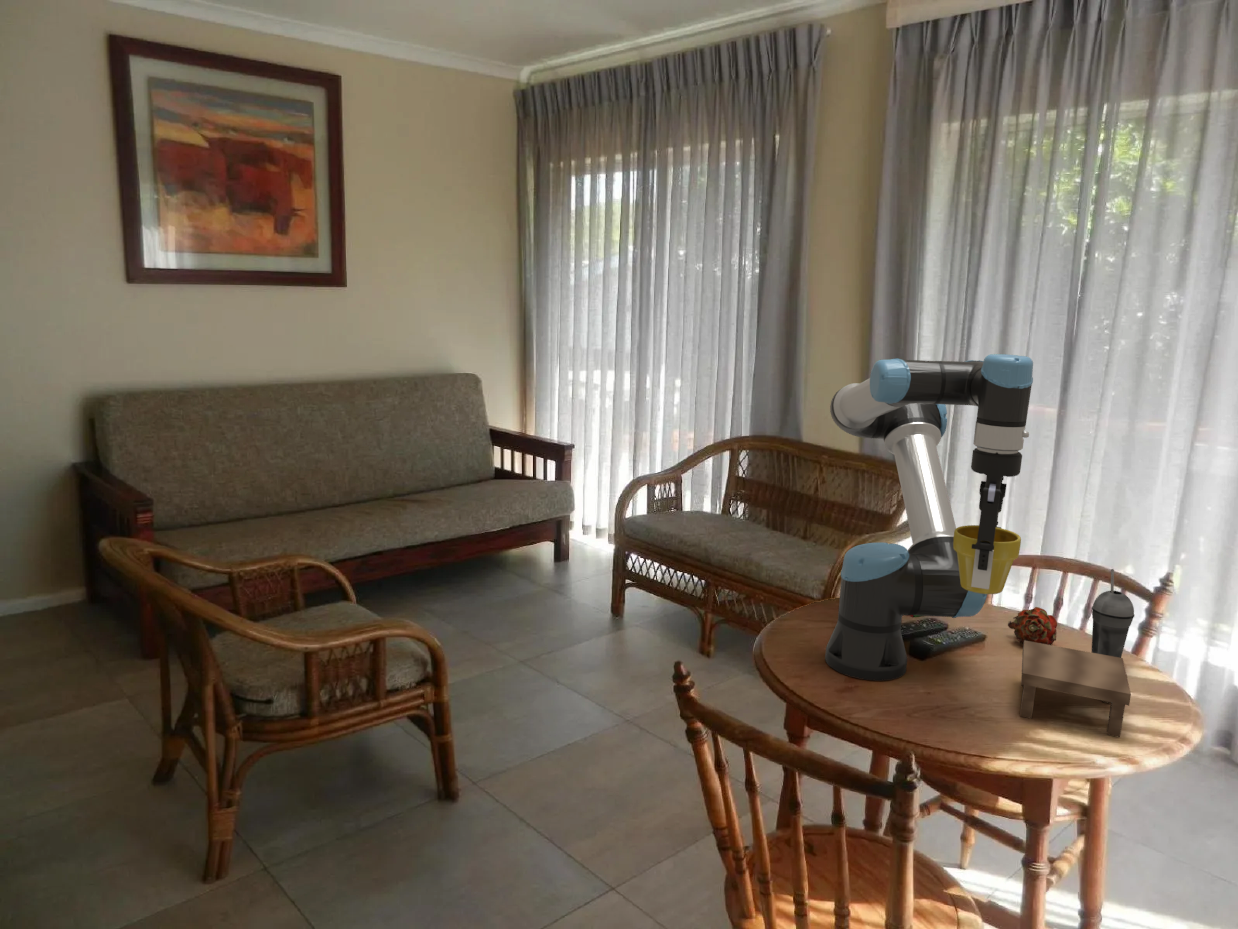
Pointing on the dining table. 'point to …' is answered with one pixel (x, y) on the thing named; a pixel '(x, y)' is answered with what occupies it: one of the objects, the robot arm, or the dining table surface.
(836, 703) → the dining table surface
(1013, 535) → the plant pot
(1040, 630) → the dragon fruit
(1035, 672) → the walnut stool
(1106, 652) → the beverage cup
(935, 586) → the robot arm
